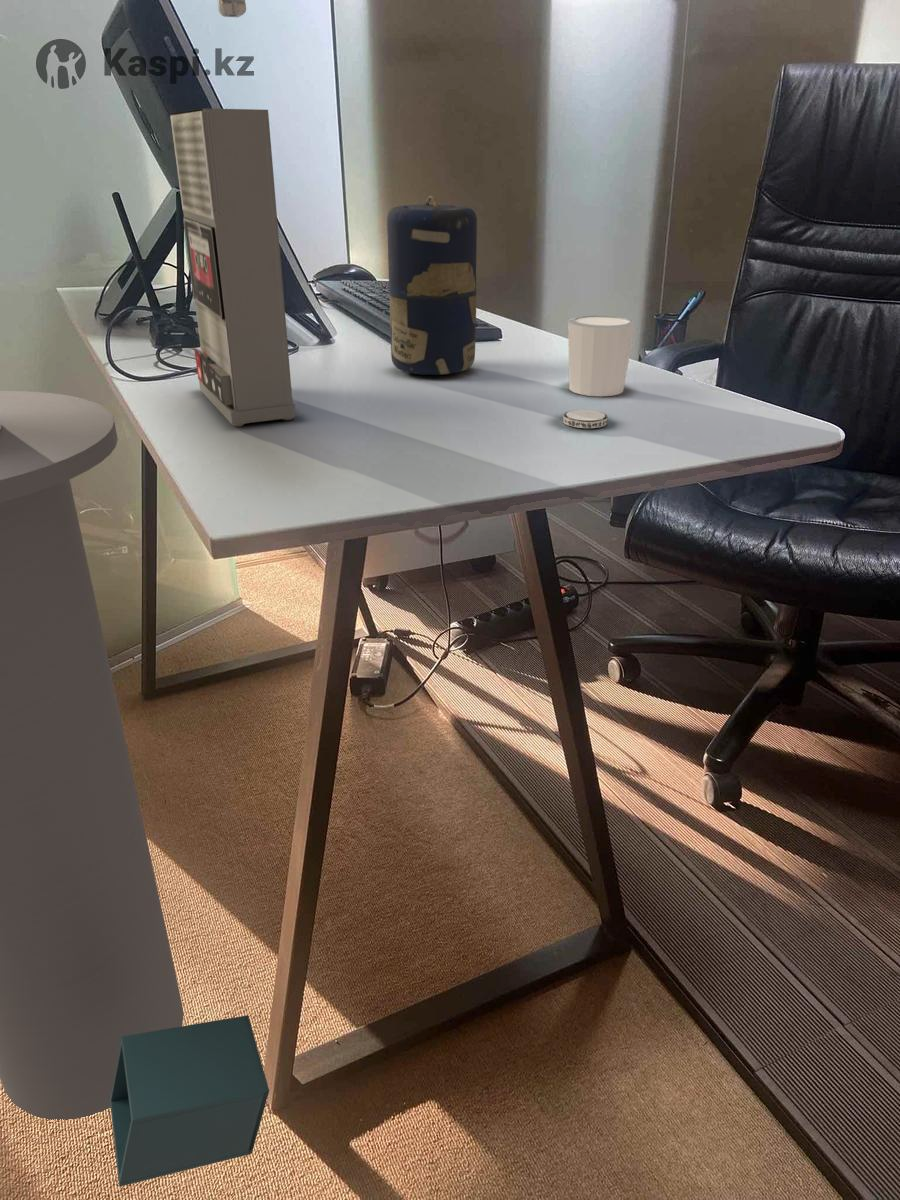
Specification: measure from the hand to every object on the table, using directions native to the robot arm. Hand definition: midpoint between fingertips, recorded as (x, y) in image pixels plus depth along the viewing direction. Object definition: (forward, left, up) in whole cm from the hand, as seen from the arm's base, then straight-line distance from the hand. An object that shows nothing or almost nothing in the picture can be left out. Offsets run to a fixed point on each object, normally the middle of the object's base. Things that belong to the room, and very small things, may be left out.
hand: (248, 8), depth 61 cm
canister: (+22, +17, -31) cm, 42 cm away
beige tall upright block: (-1, +11, -31) cm, 33 cm away
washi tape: (+26, -8, -31) cm, 41 cm away
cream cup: (+34, +2, -31) cm, 46 cm away
